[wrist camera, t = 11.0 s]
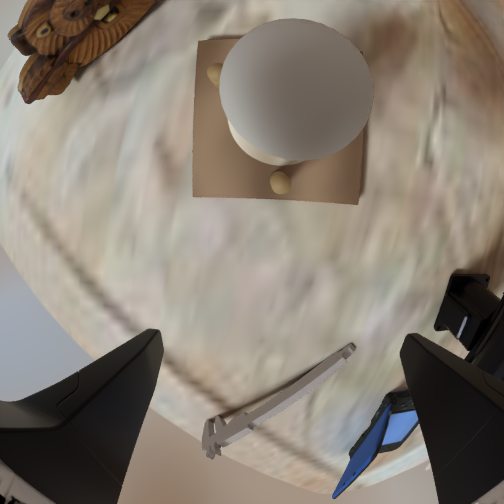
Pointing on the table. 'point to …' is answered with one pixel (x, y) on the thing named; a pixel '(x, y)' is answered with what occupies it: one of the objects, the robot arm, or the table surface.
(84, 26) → the wooden carving
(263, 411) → the caliper
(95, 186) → the table surface
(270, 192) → the pin holder
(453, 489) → the robot arm
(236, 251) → the table surface
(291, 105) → the lightbulb
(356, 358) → the table surface
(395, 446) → the handheld game console
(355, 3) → the table surface
